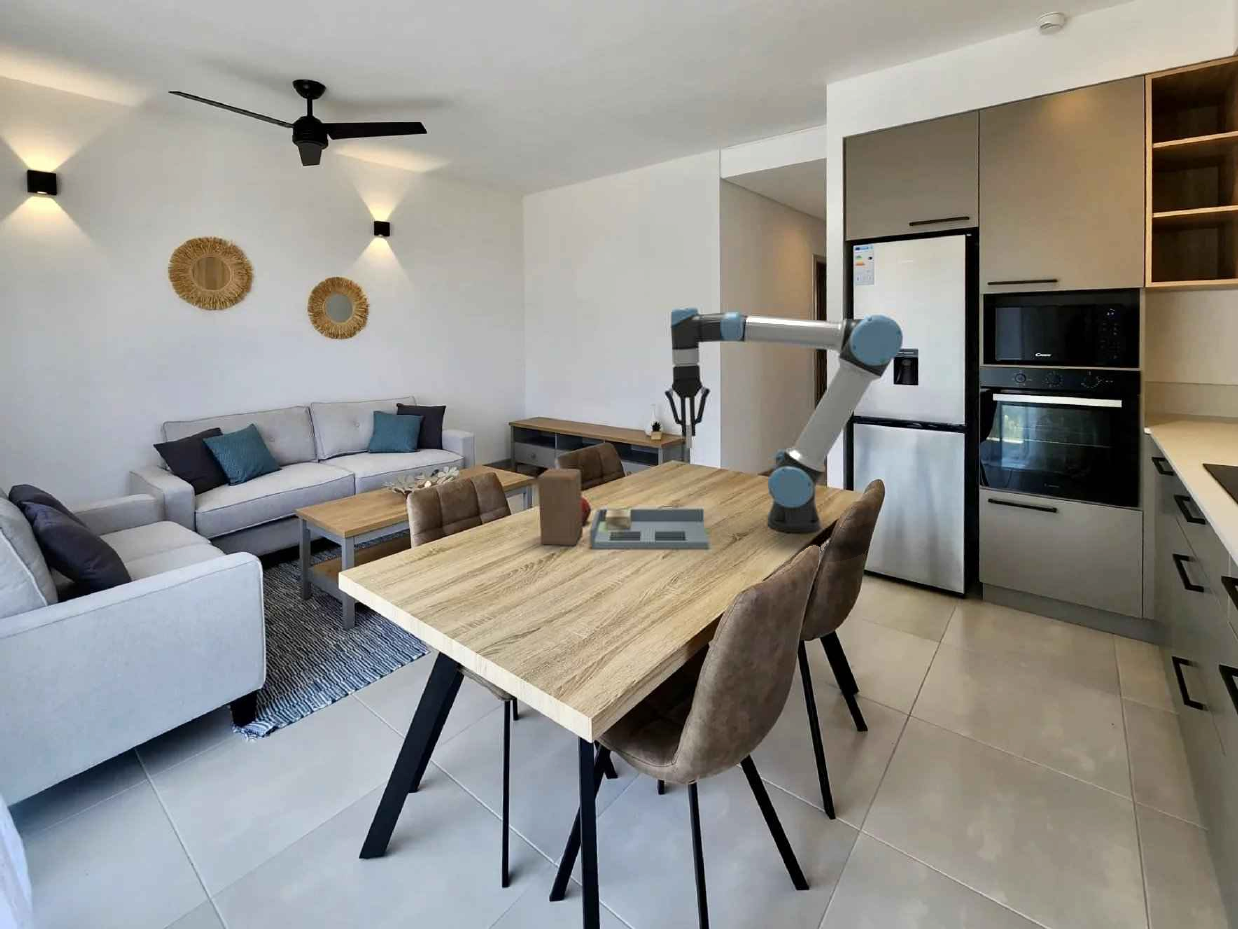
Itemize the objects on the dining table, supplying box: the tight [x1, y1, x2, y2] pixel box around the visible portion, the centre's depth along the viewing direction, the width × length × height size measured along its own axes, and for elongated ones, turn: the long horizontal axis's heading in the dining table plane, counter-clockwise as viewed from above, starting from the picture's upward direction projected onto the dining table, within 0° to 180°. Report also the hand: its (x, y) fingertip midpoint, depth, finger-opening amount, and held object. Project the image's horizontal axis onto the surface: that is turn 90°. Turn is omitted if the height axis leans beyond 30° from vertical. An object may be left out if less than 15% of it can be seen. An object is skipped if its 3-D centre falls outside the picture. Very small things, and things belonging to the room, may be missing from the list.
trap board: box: [589, 508, 710, 550], centre depth 173 cm, size 32×20×6 cm, turn 86°
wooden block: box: [537, 468, 584, 546], centre depth 170 cm, size 10×10×20 cm
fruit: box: [581, 496, 592, 524], centre depth 187 cm, size 9×10×10 cm
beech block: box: [605, 510, 631, 530], centre depth 177 cm, size 7×7×4 cm
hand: (689, 447), depth 173 cm, fingers closed
